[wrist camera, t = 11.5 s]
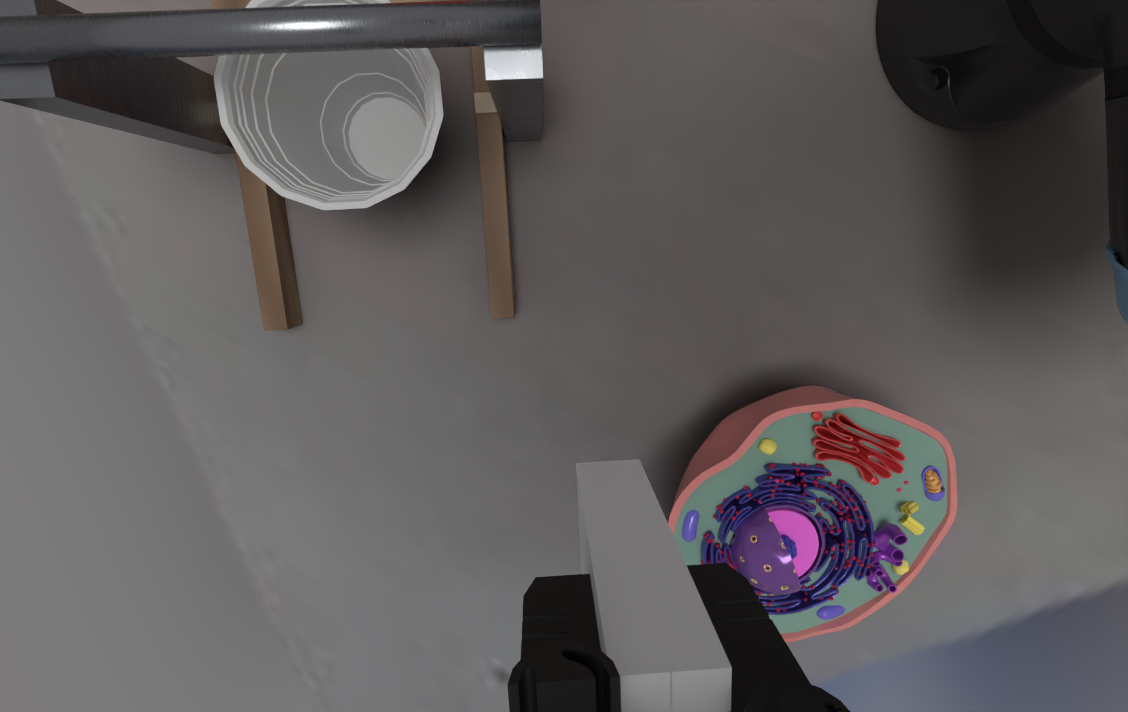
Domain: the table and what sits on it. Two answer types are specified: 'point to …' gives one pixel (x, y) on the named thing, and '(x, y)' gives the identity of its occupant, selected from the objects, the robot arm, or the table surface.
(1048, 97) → the robot arm
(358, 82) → the plastic cup
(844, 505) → the cell model
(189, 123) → the grey and wooden frame
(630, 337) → the table surface
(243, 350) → the table surface
